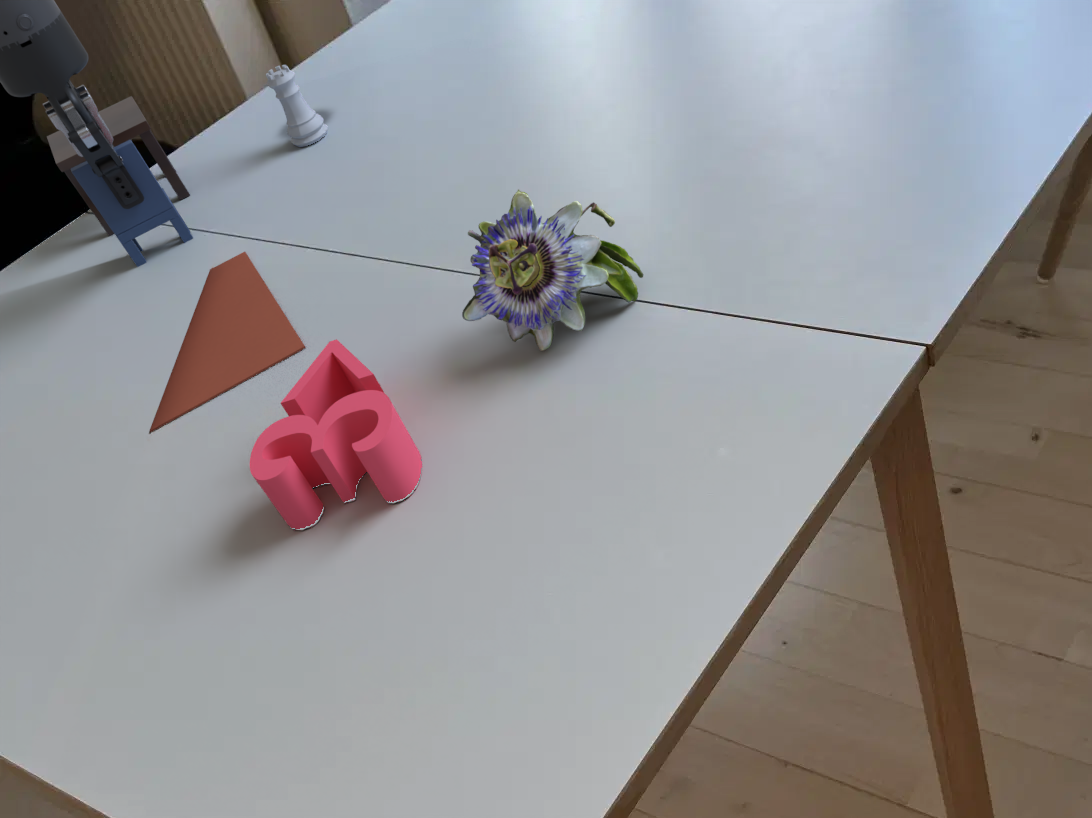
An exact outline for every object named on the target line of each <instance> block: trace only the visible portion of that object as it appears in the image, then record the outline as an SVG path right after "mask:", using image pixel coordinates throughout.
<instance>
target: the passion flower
mask: <svg viewBox="0 0 1092 818" xmlns="http://www.w3.org/2000/svg"><path fill="white" fill-rule="evenodd" d="M589 209H590V212H591V213H593V214H595V215H597V216H599V217H601V218H602V219H603V220H604V221H605V222H606V224H607V226H608V227H609V228H612V227H614V225H615V224H616V220H615V219H614V217H612V216H611V214H610V215H609V214H608V213H607V211H605V210H604V209H602V208H600V206H598V203H596V202H591V203H590V204H589V205H588V206H586V207H585V208H584V209H583V205H582V204H581V203H580V202H579V201H578V200H574V201H572V202H571V203H569V204H567V205H565V206H563V207H561V208H560V209H559V210H558V211H556V213H555V214H553V215H551V216H550V217H547V218H546V220H545V222H542V218H543V216H542V215H540V217H539V218H538V216H537V213H536V209H535V206H534V203H533V201H532V199H530V196H529V194H528V193H527V192H525V191H522V190H520V189H519V188H518V189H517V190H516V192H515V193H514V194H513V195H512V199H511V201H510V206H509V210H508V212H507V213H503V215H502V216H501V219H499V220H498V218H497V219H496V220H495V223H494V222H491V221H482V222H481V221H480V223H478V229H479V231H480V233H481V234H479V233H477V232H475V231H474V230H470V229H469V230H468V231H467V236H468V237H471V238H473V239H474V240H476V241H477V242H479V244H480V245H478V244H476V245H474V248H475V250H477V252H476V253H474V254H472V255H471V256H470V263H471V266H472V267H475V268H476V269H479V277H478V279H477V281H476V282H475V283H473V285H472V289H473V292H474V295H473V296H472V297H471V299H470V300H468V302H467V304H466V305H465V307H464V308H463V309H462V314H461V316H462V319H463V320H465V321H467V322H474V321H479V320H482V318H485V317H487V315H491V316H493V317H495V318H496V319H497V320H499V321H502V322H504V323H505V324H506V329H507V333H508V335H509V337H510V340H511V341H512V342H514V343H516V342H517V341H518V340H521V339H522V338H524V336H526V335H528V334H530V335H532V336H533V337H534V341H535V344H536V346H537V347H538V349H539V351H541V352H544V351H546V350H548V349H549V348H550V347H551V345H552V342H553V340H554V335H555V334H554V330H555V329H554V327H555V326H554V323H556V322H558V321H559V322H561V323H562V324H563V325H564V326H565V327H567V328H568V329H569V330H574V331H575V332H582V331H583V329H584V327H585V325H586V319H587V317H586V310H585V309H584V306H583V304H582V301H581V293H582V291H583V290H586V289H592V288H596V287H601V286H603V285H606V286H607V287H609V288H610V289H611V290H612V291H614V292H615V293H616V294H617V295H618V296H619V297H621V298H622V299H623V300H625V302H627V303H631V302H636V301H637V300H638V297H639V292H638V286H637V284H636V283H635V281H634V279H633V276H632V274H631V273H629V271H628V270H627V269H626V267H627V268H628V269H630V270H631V271H632V272H634V273H636V275H637V276H638V278H640V279H643V278H644V272H643V271H642V270H641V268H640V266H639V265H638V264H637V263H636V262H635V261H634V258H633V257H632V256H630V255H629V253H628V252H627V250H626V249H625V248H623V247H621V246H619V245H618V244H616V243H612V242H609V241H606V240H603V239H602V240H601V239H600V237H598V236H596V235H594V234H588V235H586V234H583V235H582V234H581V235H580V234H579V235H578V234H576V233H575V232H574V230H575V228H576V227H577V225H578V224H579V222H580V219H581V217H582V216H583V215H584V214H585V213H586V211H588V210H589Z"/></svg>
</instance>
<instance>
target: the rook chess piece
mask: <svg viewBox="0 0 1092 818" xmlns="http://www.w3.org/2000/svg"><path fill="white" fill-rule="evenodd" d="M275 70H276V71H274V70H273V68H271V69H269V70H268V71H267V73H265V77H266V79H267V82H266V83H267V84H266V86H267V87H268V88H270V89H272V90H274V92H275V98H276V99H278V100H279V103H280V105H281V107H282V109H283V112H284V115H285V119H286V125H287V128H286V135H288V137H289V138H290V143H291V144H292V145H294V146H296V147H299V148H304V147H309V146H311V144H312V145H314V144H316V143H318V142H320V141H321V140H322V139H323V138H322V137H324V136H325V137H326V135H327V134H328V130H329V129H328V128H329V125H327V124H326V123H324V117H323V116H322V115H320V113H317V112H316V110H314V109H313V108H311V106H310V105H309V103H308V102H307V101H306V100H305V98H304V96H303V94H302V92H301V91H300V88H301V87H300V85H298V84H297V83H296V81H295V76H296V72H294V71H293V70H291V69H290V68H289V66H288V65H287V64H282V65H281V66H280V65H277V66H275ZM326 133H327V134H326ZM325 134H326V135H325ZM325 137H324V138H325ZM321 138H322V139H321ZM320 139H321V140H320ZM319 140H320V141H319ZM317 141H318V142H317ZM315 142H316V143H315ZM313 143H314V144H313ZM308 145H309V146H308Z"/></svg>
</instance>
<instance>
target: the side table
mask: <svg viewBox="0 0 1092 818" xmlns="http://www.w3.org/2000/svg"><path fill="white" fill-rule="evenodd" d="M98 113H99V114H100V116H101V117H102V119H103V121H104V122H105V124H106V125H107V127H108V129H109V131H110V133H111V135H112V137H113V142H112V143H113V145H114V147H116V146H118V145H120V144H122V143H124V142H126V141H128V140H132V139H134V138H136V137H138V136H139V137H140V139H141V140H142V142H143V144H144V145H145V147H146V148H147V150H148V152H149V154H150V155H151V156H152V158H153V159H154V161H155V162H156V164H157V166H158V167H159V169H160V170H161V172H162V174H163V175H164V177H165V179H166V180H167V181H168V183H169V185H170V187H171V188H172V189H173V191H174V193H175V194H176V195H177V197H178V199H179V200H180V201H181V200H184V199H185V198H187V197H190V196H191V194H190V192H189V191H188V189H187V188H186V185H185V184H184V183H183V180H182V179H181V177H180V176H179V174H178V173H177V170H176V168H175V166H174V165H173V164H172V162H171V160H170V158H169V157H168V155H167V154H166V152H165V151H164V149H163V148H162V146H161V144H160V143H159V141H158V139H157V138H156V137H155V135H154V133H153V132H152V127H151V126H150V124H149V123H148V121H147V119H146V117H145V115H144V114H143V112H142V110H141V109H140V107H139V105H138V104H137V102H136V100H135V99H134V97H133V96H132V95H131V96H128V97H126V98H124V99H121V100H120V101H118V102H116V103H114V104H112V105H110V106H107V107H105V108H103V109H101V110H98ZM46 138H47V141H48V145H49V147H50V150H51V154H52V156H53V158H54V161H55V164H56V166H57V167H58V169H59V170H60V172H61V173H64V174H65V175H66V177H67V178H68V180H69V181H70V182H71V184H72V185H73V187H74V188H75V189H76V191H77V192H78V194H79V195H80V197H81V198H82V200H83V201H84V203H85V204H86V206H88V208H89V210H90V211H91V213H92V214H93V215H94V217H95V218H96V219H97V221H98V222H99V224H100V225H101V227H102V228H103V229H104V231H105V233H106V234H107V235H108V236H109V237H111V236H112V235H115V234H114V232H113V231H112V230H111V228H110V227H109V225H108V224H107V222H106V221H105V219H104V218H103V217H102V215H101V214H100V212H99V211H98V209H97V208H96V206H95V205H94V204H93V202H92V201H91V199H90V198H89V196H88V195H87V194H86V192H85V191H84V189H83V188H82V186H81V185H80V183H79V182H78V181H77V179H76V178H75V176H74V175H73V173H72V171H71V168H73V167H75V166H77V165H79V164H81V163H83V162H85V161H86V160H85V158H84V157H81V156H79V155H78V154H77V153H76V151H75V150H74V148H73V147H72V145H71V144H70V142H69V141H68V140H67V138H66V137H65V135H64V134H63V132H62V131H61V130H57V131H55V132H53V133H50V134H49V135H46Z"/></svg>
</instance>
